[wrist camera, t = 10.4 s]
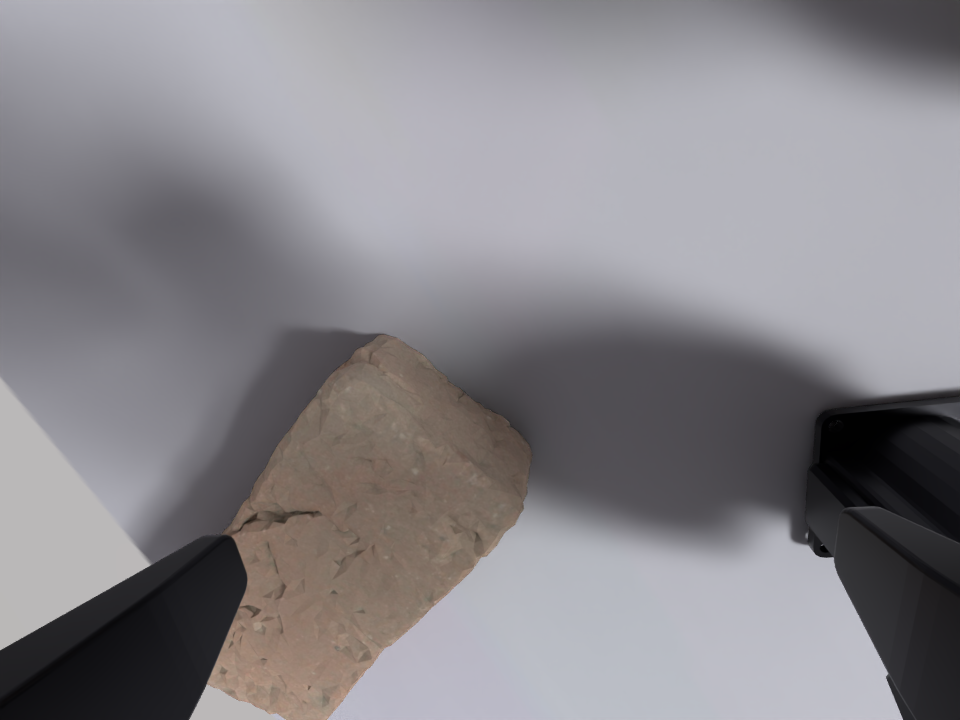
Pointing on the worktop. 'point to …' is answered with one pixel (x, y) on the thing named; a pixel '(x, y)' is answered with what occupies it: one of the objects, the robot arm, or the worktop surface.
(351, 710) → the worktop surface
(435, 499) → the brick
